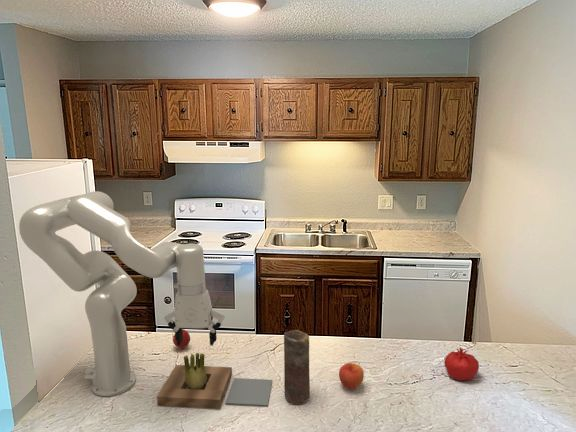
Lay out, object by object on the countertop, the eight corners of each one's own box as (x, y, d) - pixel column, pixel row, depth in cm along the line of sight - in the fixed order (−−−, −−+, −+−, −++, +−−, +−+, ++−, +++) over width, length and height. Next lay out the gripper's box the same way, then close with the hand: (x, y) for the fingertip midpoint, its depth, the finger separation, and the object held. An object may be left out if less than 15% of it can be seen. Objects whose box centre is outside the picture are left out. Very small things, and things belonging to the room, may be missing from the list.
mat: (225, 404, 120) (225, 402, 120) (233, 379, 131) (233, 378, 131) (267, 406, 119) (267, 405, 119) (272, 381, 131) (272, 379, 130)
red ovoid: (183, 342, 154) (182, 322, 152) (194, 347, 150) (192, 327, 148) (170, 349, 149) (169, 328, 148) (180, 354, 146) (179, 333, 144)
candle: (280, 392, 125) (280, 330, 121) (303, 386, 128) (304, 326, 124) (289, 408, 118) (289, 342, 114) (313, 402, 121) (314, 338, 117)
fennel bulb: (184, 393, 125) (181, 357, 122) (191, 384, 129) (189, 348, 127) (202, 396, 123) (200, 359, 121) (209, 386, 128) (207, 350, 125)
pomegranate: (478, 387, 128) (482, 360, 126) (443, 381, 131) (446, 354, 129) (475, 369, 137) (479, 343, 135) (443, 363, 140) (445, 338, 138)
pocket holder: (157, 406, 119) (156, 396, 119) (176, 373, 135) (175, 364, 134) (220, 409, 118) (219, 399, 117) (232, 375, 133) (231, 367, 133)
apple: (364, 382, 130) (365, 358, 129) (361, 396, 123) (362, 372, 122) (340, 378, 132) (341, 355, 130) (336, 392, 125) (337, 368, 124)
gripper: (157, 292, 116) (162, 349, 120) (219, 293, 115) (222, 350, 119) (167, 282, 124) (171, 336, 127) (225, 283, 122) (228, 337, 126)
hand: (196, 343), depth 123 cm, fingers open, 9 cm apart
